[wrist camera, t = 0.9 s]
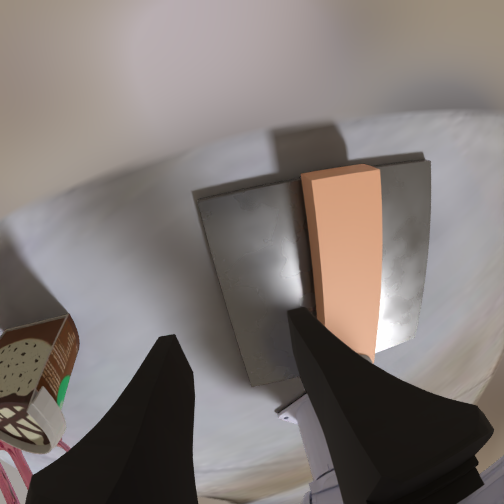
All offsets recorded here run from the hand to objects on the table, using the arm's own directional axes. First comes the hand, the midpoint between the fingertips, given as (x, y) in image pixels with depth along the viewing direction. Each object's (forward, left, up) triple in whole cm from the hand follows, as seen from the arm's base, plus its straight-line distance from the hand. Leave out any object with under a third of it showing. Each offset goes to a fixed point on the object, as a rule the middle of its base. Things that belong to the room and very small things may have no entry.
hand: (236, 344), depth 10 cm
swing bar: (-8, -2, -8) cm, 12 cm away
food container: (+6, +18, -10) cm, 21 cm away
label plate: (-9, -2, -9) cm, 13 cm away
